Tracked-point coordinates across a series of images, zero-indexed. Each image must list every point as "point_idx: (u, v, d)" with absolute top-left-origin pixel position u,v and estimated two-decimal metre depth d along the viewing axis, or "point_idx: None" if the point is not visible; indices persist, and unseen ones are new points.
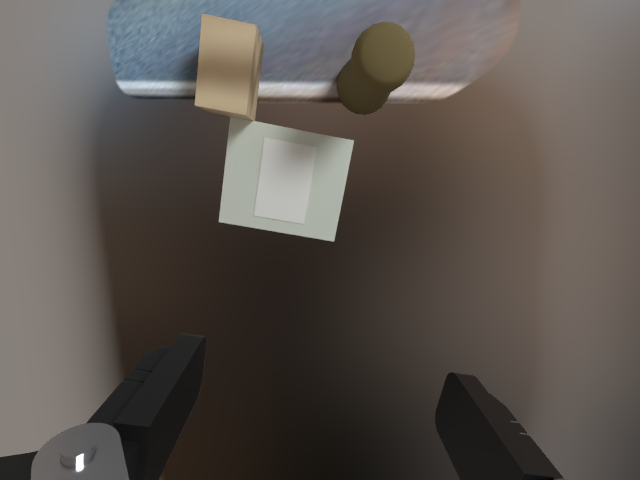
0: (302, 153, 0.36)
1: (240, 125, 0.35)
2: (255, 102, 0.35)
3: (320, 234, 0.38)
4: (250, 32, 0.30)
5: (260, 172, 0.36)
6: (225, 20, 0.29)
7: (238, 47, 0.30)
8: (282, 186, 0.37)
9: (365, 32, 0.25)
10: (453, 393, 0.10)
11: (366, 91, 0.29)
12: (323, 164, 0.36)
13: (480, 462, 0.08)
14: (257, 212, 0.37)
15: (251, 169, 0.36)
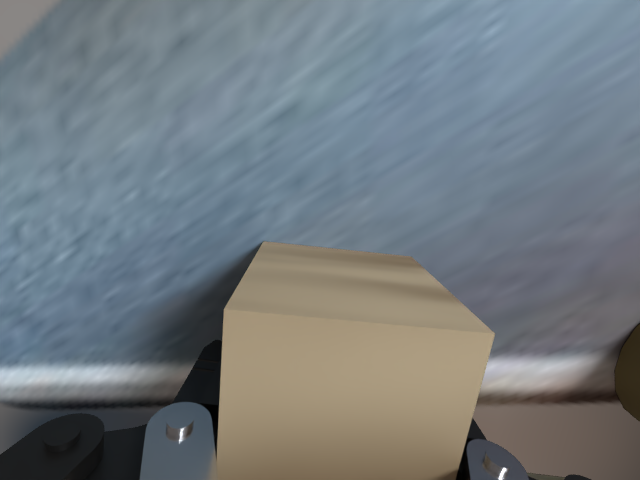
0: None
1: None
2: None
3: None
4: (462, 365, 0.06)
5: None
6: (343, 329, 0.06)
7: (399, 426, 0.06)
8: None
9: None
10: None
11: None
12: None
13: None
14: None
15: None
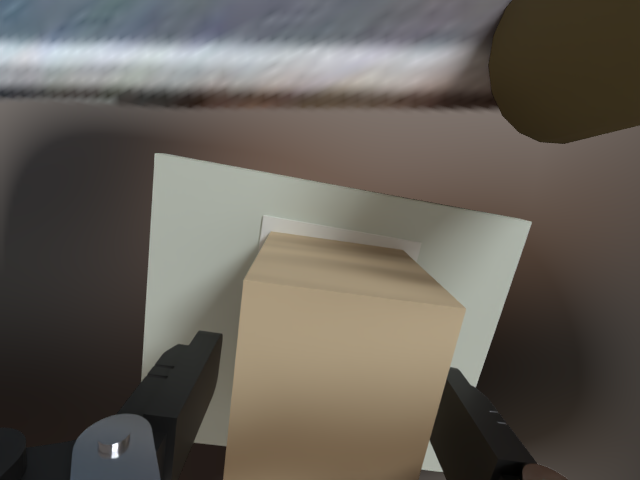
0: None
1: (189, 179, 0.11)
2: None
3: None
4: (438, 334, 0.07)
5: None
6: (341, 300, 0.07)
7: (385, 385, 0.08)
8: None
9: None
10: None
11: None
12: None
13: (460, 450, 0.08)
14: None
15: (225, 305, 0.12)
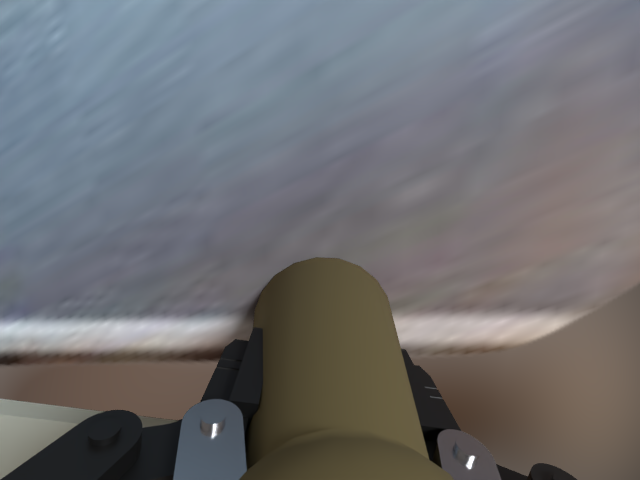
0: None
1: (4, 428, 0.14)
2: None
3: None
4: None
5: None
6: None
7: None
8: None
9: None
10: None
11: None
12: None
13: None
14: None
15: None
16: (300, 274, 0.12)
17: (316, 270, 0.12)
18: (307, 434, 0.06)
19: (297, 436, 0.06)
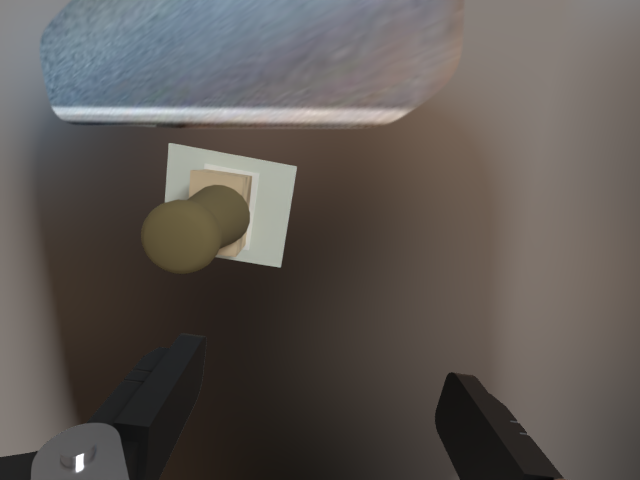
0: None
1: (179, 151, 0.34)
2: None
3: (266, 260, 0.38)
4: (237, 184, 0.31)
5: None
6: (213, 175, 0.30)
7: None
8: None
9: (149, 216, 0.21)
10: (453, 393, 0.10)
11: None
12: (266, 190, 0.36)
13: (480, 461, 0.08)
14: None
15: None
16: (204, 188, 0.29)
17: (211, 187, 0.29)
18: None
19: None
